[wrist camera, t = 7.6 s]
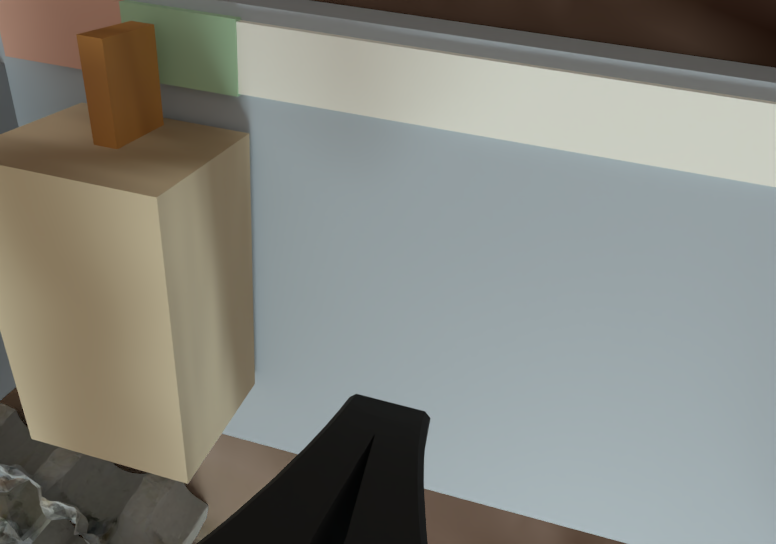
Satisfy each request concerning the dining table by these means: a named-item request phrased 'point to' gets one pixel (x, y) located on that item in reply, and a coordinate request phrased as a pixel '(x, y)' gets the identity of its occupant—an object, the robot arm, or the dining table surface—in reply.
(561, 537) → the dining table surface
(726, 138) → the gauge bed
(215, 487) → the dining table surface
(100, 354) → the beige block with peg
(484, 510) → the dining table surface
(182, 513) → the egg carton
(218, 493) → the dining table surface
